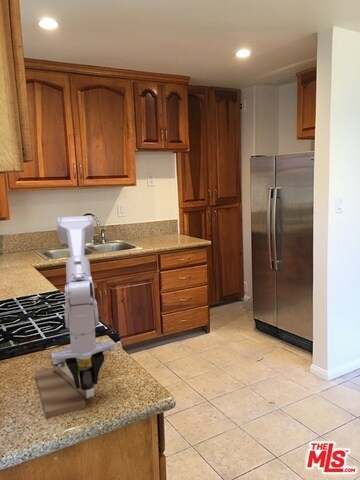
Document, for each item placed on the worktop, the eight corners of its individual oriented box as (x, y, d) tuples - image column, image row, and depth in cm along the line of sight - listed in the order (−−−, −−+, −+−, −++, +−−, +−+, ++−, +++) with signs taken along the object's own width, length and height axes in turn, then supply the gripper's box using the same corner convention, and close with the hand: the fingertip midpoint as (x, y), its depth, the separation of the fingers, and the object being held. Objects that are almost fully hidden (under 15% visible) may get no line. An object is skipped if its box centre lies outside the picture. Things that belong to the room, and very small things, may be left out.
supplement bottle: (100, 373, 109) (98, 340, 108) (92, 383, 104) (90, 348, 102) (81, 372, 110) (79, 339, 109) (73, 381, 105) (71, 348, 103)
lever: (50, 369, 108) (48, 347, 107) (62, 365, 110) (61, 343, 109) (83, 399, 93) (82, 373, 92) (97, 394, 95) (95, 368, 94)
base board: (35, 376, 108) (35, 371, 108) (68, 369, 112) (68, 364, 112) (45, 418, 89) (45, 412, 88) (85, 407, 92) (85, 401, 92)
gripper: (53, 343, 86) (57, 400, 88) (117, 330, 92) (120, 384, 94) (48, 332, 92) (53, 386, 94) (108, 321, 98) (111, 372, 100)
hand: (86, 384), depth 94 cm, fingers open, 3 cm apart
